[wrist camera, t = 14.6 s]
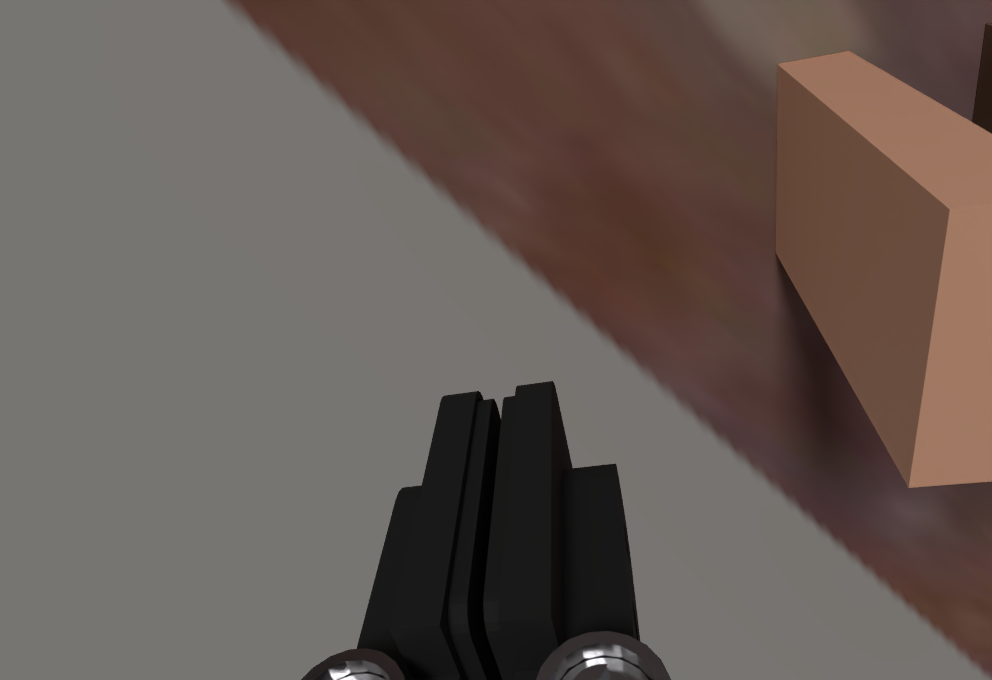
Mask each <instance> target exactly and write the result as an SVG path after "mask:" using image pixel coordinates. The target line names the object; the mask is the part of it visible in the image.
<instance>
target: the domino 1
mask: <svg viewBox="0 0 992 680" xmlns="http://www.w3.org/2000/svg"><path fill="white" fill-rule="evenodd" d="M776 254H777V256H778V258H779V260H780V261H781V263H782V265H783V267H784V269H785V270H786V272H787V274H788V276H789V277H790V279H791V281H792V283H793V284H794V286H795V288H796V290H797V291H798V293H799V295H800V297H801V299H802V300H803V302H804V304H805V306H806V307H807V309H808V311H809V313H810V314H811V316H812V318H813V320H814V321H815V323H816V325H817V327H818V329H819V330H820V332H821V334H822V336H823V337H824V339H825V341H826V343H827V344H828V346H829V348H830V350H831V351H832V353H833V355H834V357H835V359H836V360H837V362H838V364H839V366H840V367H841V369H842V371H843V373H844V374H845V376H846V378H847V380H848V381H849V383H850V385H851V387H852V389H853V390H854V392H855V394H856V396H857V397H858V399H859V401H860V403H861V404H862V406H863V408H864V410H865V411H866V413H867V415H868V417H869V419H870V420H871V422H872V424H873V426H874V427H875V429H876V431H877V433H878V434H879V436H880V438H881V440H882V441H883V443H884V445H885V447H886V448H887V450H888V452H889V454H890V456H891V457H892V459H893V461H894V463H895V464H896V466H897V468H898V470H899V471H900V473H901V475H902V477H903V478H904V480H905V482H906V484H907V486H908V487H909V488H911V487H924V486H938V485H951V484H964V483H977V482H990V481H992V134H991V133H990V132H988V131H986V130H984V129H983V128H981V127H979V126H978V125H976V124H974V123H972V122H971V121H969V120H967V119H966V118H964V117H962V116H960V115H959V114H957V113H955V112H953V111H952V110H950V109H948V108H947V107H945V106H943V105H941V104H940V103H938V102H936V101H935V100H933V99H931V98H929V97H928V96H926V95H924V94H922V93H921V92H919V91H917V90H916V89H914V88H912V87H910V86H909V85H907V84H905V83H904V82H902V81H900V80H898V79H897V78H895V77H893V76H891V75H890V74H888V73H886V72H885V71H883V70H881V69H879V68H878V67H876V66H874V65H873V64H871V63H869V62H867V61H866V60H864V59H862V58H860V57H859V56H857V55H855V54H854V53H852V52H850V51H846V52H841V53H835V54H830V55H824V56H819V57H813V58H808V59H802V60H797V61H792V62H786V63H781V64H777V157H776Z"/></svg>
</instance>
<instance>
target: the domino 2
mask: <svg viewBox="0 0 992 680" xmlns="http://www.w3.org/2000/svg"><path fill="white" fill-rule="evenodd" d="M972 123H974V124H976V125H978V126H979V127H981V128H983V129H984V130H986V131H988V132H990V133H991V134H992V23H988V24H986V27H985V34H984V41H983V49H982V56H981V63H980V70H979V78H978V85H977V92H976V99H975V106H974V114H973V121H972Z"/></svg>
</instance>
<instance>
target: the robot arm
mask: <svg viewBox="0 0 992 680" xmlns="http://www.w3.org/2000/svg"><path fill="white" fill-rule="evenodd" d="M301 680H671V679H670V677H669V675H668V673H667V671H666V669H665V667H664V665H663V663H662V661H661V659H660V658H659V657H658V656H657V655H656V654H655V653H654V652H653V651H652V650H651V649H650V648H649V647H648V646H647V645H645V644H643V643H642V642H640V635H639V627H638V619H637V610H636V601H635V592H634V584H633V575H632V567H631V558H630V550H629V542H628V535H627V528H626V521H625V514H624V508H623V501H622V495H621V489H620V484H619V477H618V472H617V466H616V464H609V465H600V466H591V467H582V468H574V469H573V468H572V464H571V459H570V454H569V449H568V445H567V440H566V435H565V430H564V426H563V421H562V416H561V412H560V407H559V402H558V397H557V393H556V388H555V385H554V382H553V381H551V382H543V383H535V384H529V385H521V386H517V387H516V392H515V396H512V397H505V398H504V400H503V407H502V417H501V419H500V415H499V411H498V407H497V404H496V402H495V400H494V399H489V400H483V397H482V395H481V393H480V392H479V391H477V392H469V393H462V394H454V395H447V396H443V397H442V399H441V402H440V407H439V411H438V416H437V420H436V425H435V429H434V434H433V438H432V443H431V448H430V452H429V456H428V461H427V465H426V469H425V474H424V479H423V483H422V486H414V487H405V488H402V489H401V490H400V491H399V493H398V495H397V498H396V501H395V505H394V508H393V512H392V516H391V520H390V524H389V527H388V532H387V535H386V539H385V543H384V547H383V550H382V554H381V558H380V562H379V565H378V570H377V573H376V577H375V581H374V585H373V589H372V592H371V596H370V600H369V604H368V608H367V611H366V615H365V619H364V623H363V626H362V630H361V634H360V638H359V642H358V646H357V649H351V650H347V651H344V652H341V653H338V654H336V655H333V656H330V657H329V658H327V659H326V660H324V661H323V662H321V663H320V664H318V665H316V666H315V667H313V668H312V669H311V670H310V671H309V672H308V673H307V674H306V675H305V676H304V677H303V678H302V679H301Z"/></svg>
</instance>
